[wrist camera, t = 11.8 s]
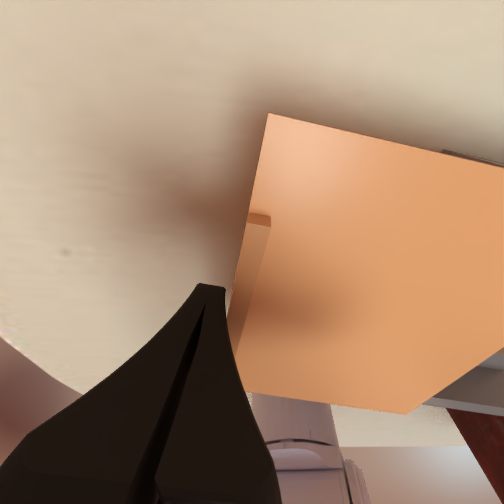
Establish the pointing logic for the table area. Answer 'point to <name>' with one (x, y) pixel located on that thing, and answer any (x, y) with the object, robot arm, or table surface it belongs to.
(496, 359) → the housing
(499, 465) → the vintage gas pump
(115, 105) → the table surface
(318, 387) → the lid
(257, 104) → the table surface
